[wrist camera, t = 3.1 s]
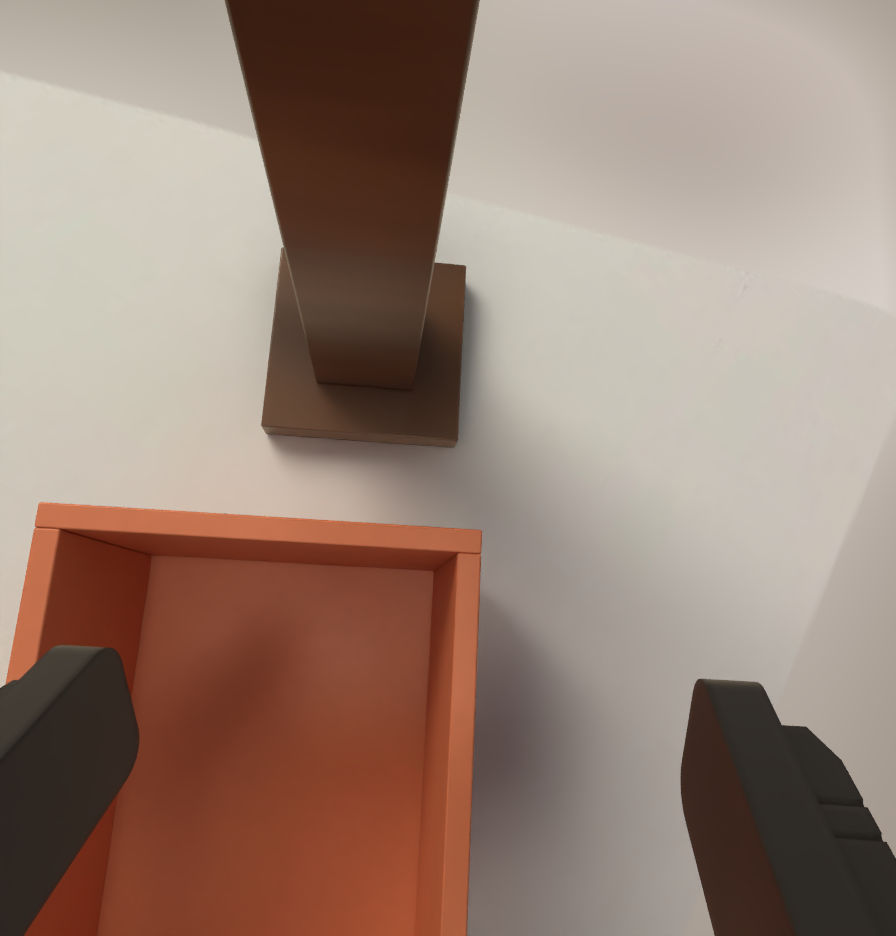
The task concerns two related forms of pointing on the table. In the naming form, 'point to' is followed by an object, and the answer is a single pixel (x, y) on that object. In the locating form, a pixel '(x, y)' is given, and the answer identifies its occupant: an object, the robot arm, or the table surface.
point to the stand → (360, 211)
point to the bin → (269, 720)
